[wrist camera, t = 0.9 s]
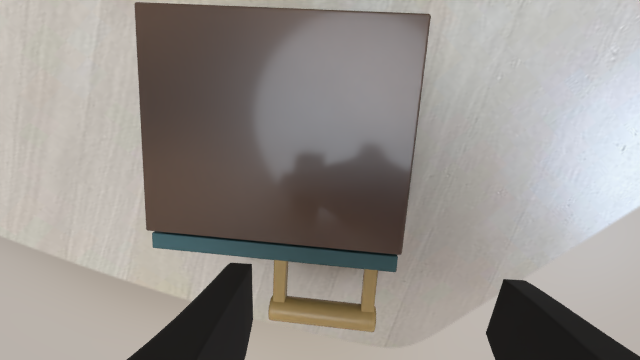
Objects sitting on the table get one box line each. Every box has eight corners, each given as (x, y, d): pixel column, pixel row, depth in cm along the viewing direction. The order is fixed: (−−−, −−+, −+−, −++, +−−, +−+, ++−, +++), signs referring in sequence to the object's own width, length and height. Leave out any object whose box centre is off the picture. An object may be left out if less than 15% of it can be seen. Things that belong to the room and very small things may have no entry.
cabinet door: (374, 280, 25) (385, 365, 17) (219, 264, 26) (156, 337, 18) (382, 205, 24) (398, 256, 15) (218, 191, 24) (151, 232, 16)
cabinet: (383, 201, 24) (401, 255, 15) (219, 187, 25) (145, 230, 16) (399, 51, 22) (431, 13, 13) (218, 42, 23) (133, 1, 14)
